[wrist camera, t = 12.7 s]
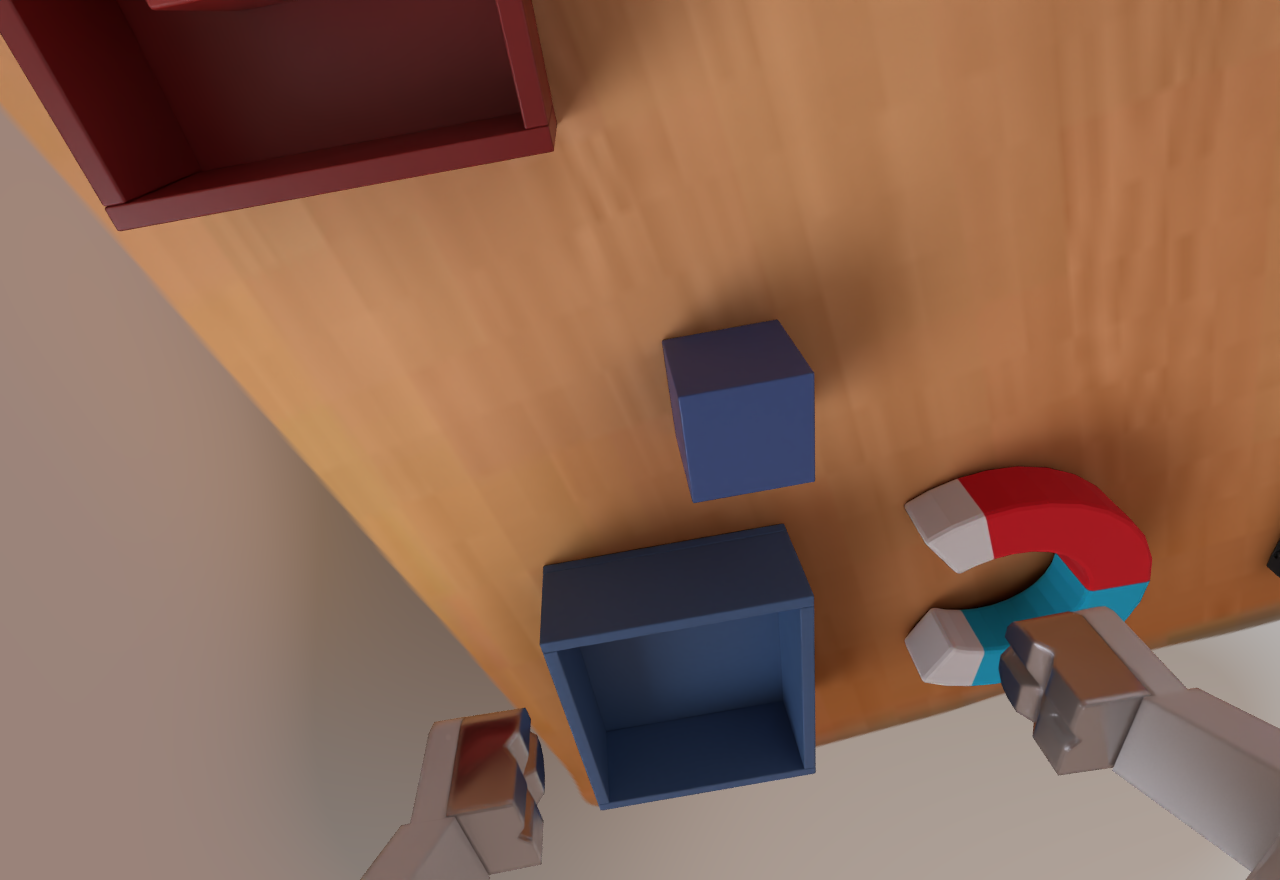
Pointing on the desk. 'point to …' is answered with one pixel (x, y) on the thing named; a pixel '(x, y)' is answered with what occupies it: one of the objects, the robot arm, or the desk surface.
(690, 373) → the blue block
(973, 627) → the magnet
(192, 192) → the red bin
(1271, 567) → the handheld gaming console
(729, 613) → the blue bin
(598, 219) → the desk surface
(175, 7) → the red block
